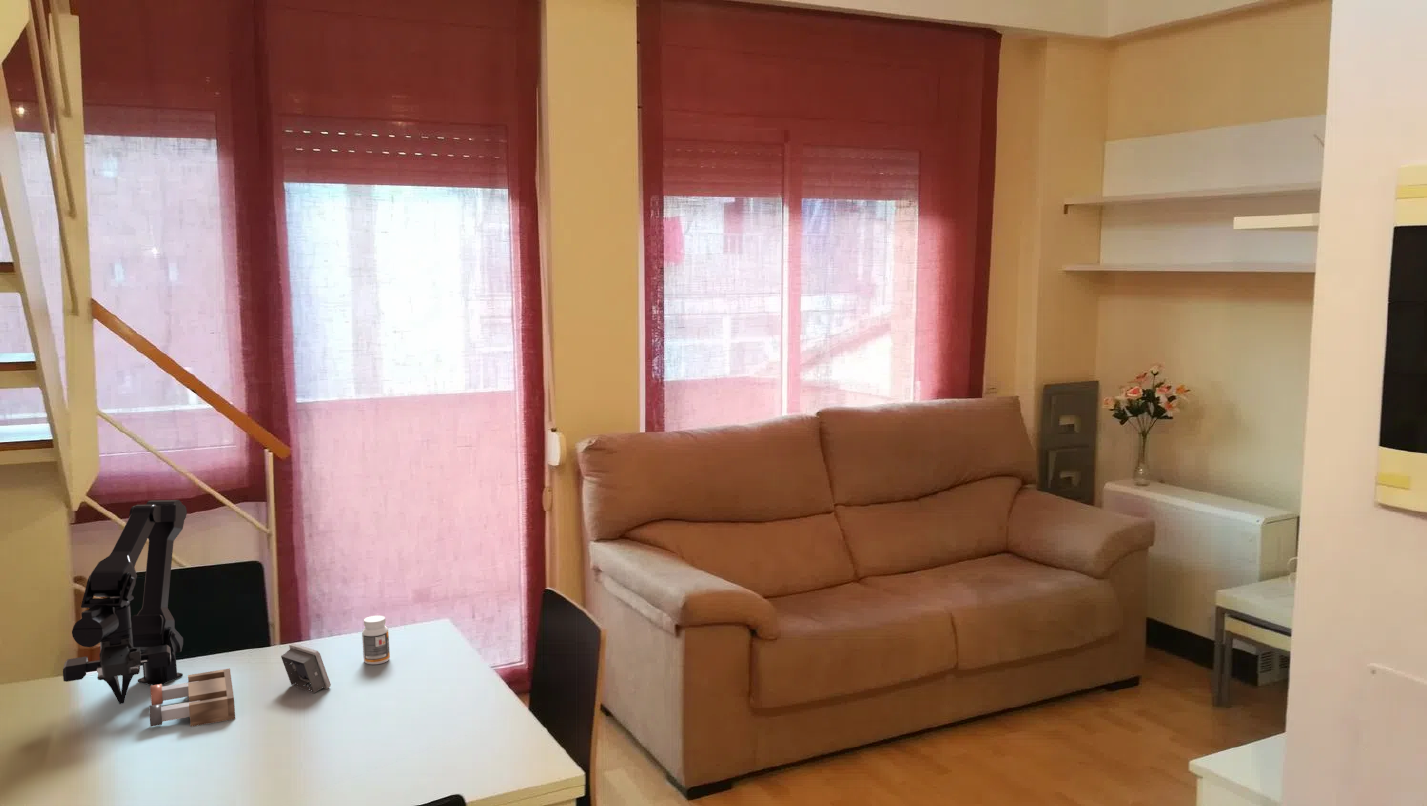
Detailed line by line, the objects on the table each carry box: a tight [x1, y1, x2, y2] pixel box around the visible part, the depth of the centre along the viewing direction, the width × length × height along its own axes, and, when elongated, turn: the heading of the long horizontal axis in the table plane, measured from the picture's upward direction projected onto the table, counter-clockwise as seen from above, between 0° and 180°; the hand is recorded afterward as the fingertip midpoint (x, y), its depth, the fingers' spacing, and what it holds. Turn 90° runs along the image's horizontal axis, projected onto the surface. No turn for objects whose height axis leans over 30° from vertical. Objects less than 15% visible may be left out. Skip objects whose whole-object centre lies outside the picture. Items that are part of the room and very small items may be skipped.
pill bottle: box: [361, 615, 391, 666], centre depth 241 cm, size 6×6×10 cm
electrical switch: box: [280, 643, 332, 694], centre depth 225 cm, size 9×5×9 cm, turn 57°
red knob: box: [149, 681, 198, 705], centre depth 219 cm, size 9×4×4 cm, turn 117°
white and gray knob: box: [148, 700, 200, 728], centre depth 209 cm, size 9×4×4 cm, turn 117°
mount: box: [187, 667, 236, 727], centre depth 217 cm, size 8×17×4 cm, turn 27°
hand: (121, 703), depth 214 cm, fingers closed
